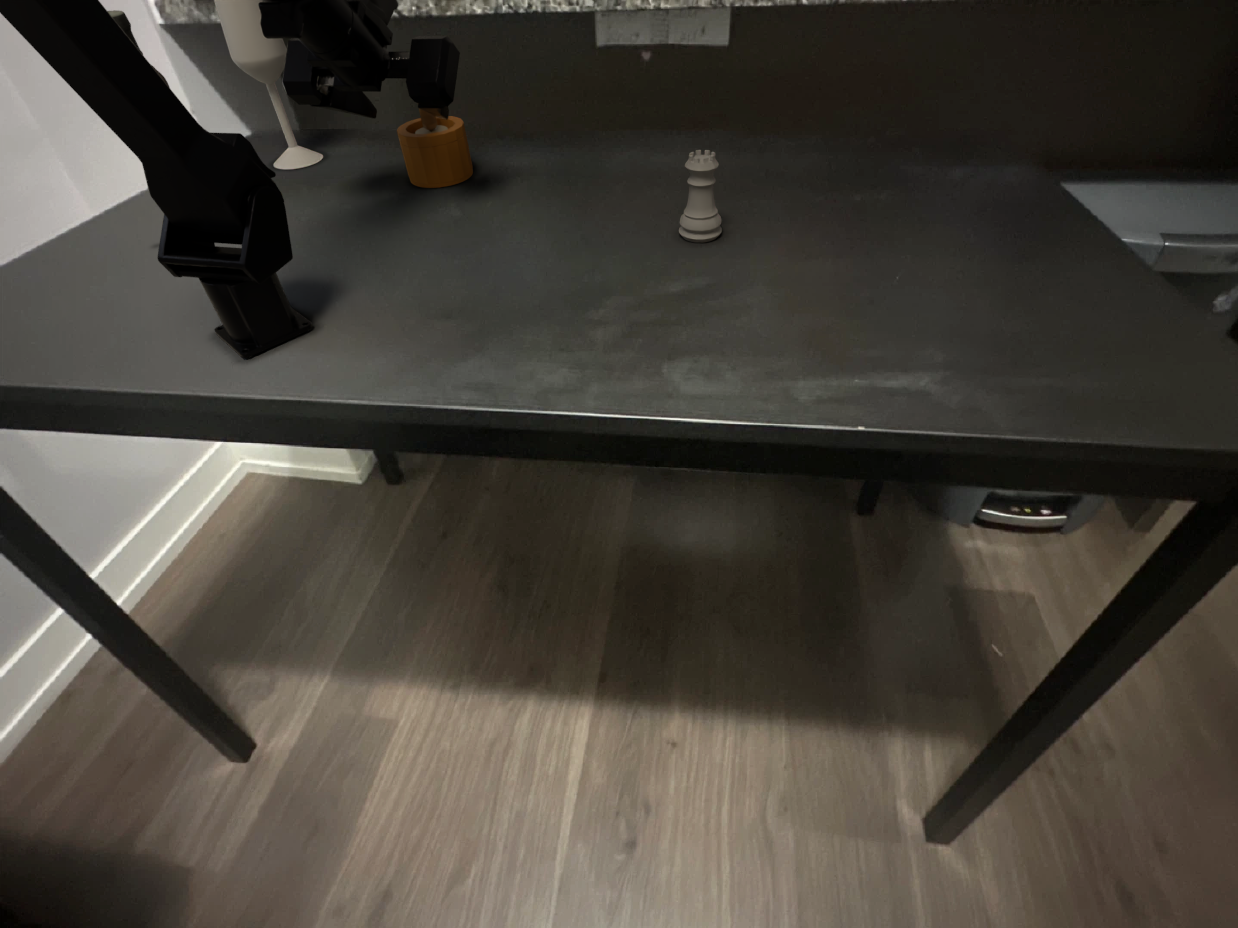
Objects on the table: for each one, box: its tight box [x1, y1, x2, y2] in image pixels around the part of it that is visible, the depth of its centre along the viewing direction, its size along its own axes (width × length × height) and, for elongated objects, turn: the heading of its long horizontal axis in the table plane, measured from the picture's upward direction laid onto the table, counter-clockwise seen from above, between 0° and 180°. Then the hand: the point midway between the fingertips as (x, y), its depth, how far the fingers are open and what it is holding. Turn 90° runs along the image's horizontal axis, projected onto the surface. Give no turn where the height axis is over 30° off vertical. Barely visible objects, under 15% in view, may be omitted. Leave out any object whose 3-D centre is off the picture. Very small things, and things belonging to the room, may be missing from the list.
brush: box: [415, 103, 448, 134], centre depth 83 cm, size 4×4×13 cm
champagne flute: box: [213, 0, 324, 170], centre depth 87 cm, size 7×7×24 cm
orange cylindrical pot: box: [396, 115, 474, 189], centre depth 85 cm, size 8×8×6 cm
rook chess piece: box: [678, 149, 723, 243], centre depth 68 cm, size 4×4×8 cm
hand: (410, 114), depth 79 cm, fingers open, 9 cm apart
